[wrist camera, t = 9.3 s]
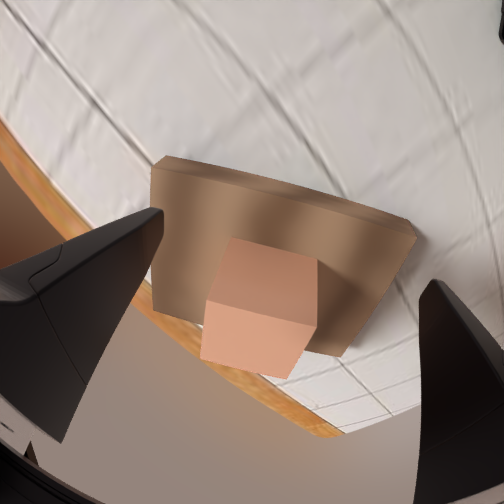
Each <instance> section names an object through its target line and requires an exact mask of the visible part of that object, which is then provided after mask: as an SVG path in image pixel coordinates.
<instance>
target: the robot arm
mask: <svg viewBox="0 0 504 504" xmlns="http://www.w3.org/2000/svg"><path fill="white" fill-rule="evenodd" d="M501 12H502V16H501V23H500V29H499V38H500V39H501V41H502V42H503V43H504V0H502V8H501ZM163 235H164V211H163V210H162V209H160V208H155V207H149V208H147V209H144V210H141V211H139V212H136V213H134V214H131V215H128V216H126V217H123V218H121V219H118V220H116V221H113V222H111V223H108V224H106V225H103V226H101V227H99V228H96V229H94V230H91V231H89V232H87V233H84V234H82V235H80V236H77V237H75V238H73V239H70V240H68V241H66V242H64V243H63V244H59V245H57V246H55V247H53V248H50V249H48V250H46V251H44V252H41V253H39V254H37V255H34V256H32V257H29V258H27V259H24V260H22V261H20V262H17V263H15V264H12V265H10V266H7V267H5V268H2V269H0V504H105V503H102V502H100V501H98V500H96V499H94V498H92V497H90V496H88V495H86V494H84V493H83V492H81V491H79V490H77V489H75V488H73V487H71V486H70V485H68V484H66V483H65V482H63V481H61V480H60V479H58V478H56V477H55V476H53V475H51V474H50V473H48V472H47V471H45V470H43V469H42V468H41V467H39V465H38V462H37V459H36V456H35V453H34V450H33V447H32V444H31V438H32V436H33V433H34V432H35V430H36V429H38V430H39V431H41V432H43V433H44V434H46V435H47V436H49V437H50V438H52V439H54V440H55V441H57V442H59V443H60V444H61V443H62V441H63V439H64V437H65V434H66V432H67V429H68V427H69V425H70V422H71V420H72V418H73V416H74V413H75V411H76V409H77V407H78V404H79V402H80V400H81V398H82V396H83V393H84V391H85V389H86V387H87V385H88V382H89V380H90V378H91V376H92V374H93V372H94V370H95V368H96V366H97V364H98V362H99V360H100V358H101V356H102V354H103V352H104V350H105V348H106V346H107V344H108V343H109V341H110V338H111V337H112V335H113V333H114V331H115V329H116V327H117V325H118V324H119V322H120V320H121V318H122V316H123V314H124V313H125V311H126V309H127V307H128V306H129V304H130V302H131V300H132V298H133V297H134V295H135V293H136V291H137V290H138V288H139V286H140V285H141V283H142V281H143V279H144V277H145V276H146V274H147V271H148V269H149V267H150V265H151V262H152V260H153V258H154V256H155V254H156V251H157V249H158V247H159V245H160V243H161V241H162V238H163ZM419 350H420V367H421V432H420V433H421V434H420V450H419V460H418V470H417V479H416V487H415V494H414V501H413V504H504V350H503V349H501V347H500V345H499V344H498V343H497V342H496V340H495V339H494V338H493V337H492V336H491V334H490V333H489V332H488V331H487V330H486V328H485V327H484V326H483V325H482V324H481V322H480V321H479V320H478V319H477V318H476V317H475V316H474V314H473V313H472V312H471V311H470V310H469V309H468V308H467V306H466V305H465V304H464V303H463V302H462V301H461V300H460V299H459V298H458V297H457V296H456V294H455V293H454V292H453V291H452V290H451V289H450V288H449V287H448V286H447V285H446V284H445V283H444V282H443V281H441V280H437V279H432V280H431V281H430V282H429V284H428V285H427V287H426V288H425V290H424V291H423V293H422V294H421V296H420V299H419Z"/></svg>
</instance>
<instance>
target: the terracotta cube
mask: <svg viewBox="0 0 504 504" xmlns="http://www.w3.org/2000/svg"><path fill="white" fill-rule="evenodd" d="M316 328H317V259H315V258H311V257H308V256H304V255H300V254H296V253H292V252H288V251H284V250H280V249H277V248H273V247H269V246H265V245H261V244H257V243H253V242H249V241H245V240H241V239H237V238H233V237H231V239H230V241H229V244H228V246H227V249H226V251H225V254H224V256H223V259H222V261H221V264H220V266H219V269H218V271H217V274H216V277H215V279H214V282H213V284H212V287H211V289H210V292H209V295H208V297H207V300H206V307H205V316H204V325H203V334H202V343H201V352H200V359H203V360H207V361H210V362H214V363H218V364H222V365H225V366H229V367H233V368H237V369H241V370H245V371H250V372H254V373H258V374H263V375H267V376H272V377H277V378H281V379H287V378H288V376H289V374H290V373H291V371H292V369H293V368H294V366H295V364H296V363H297V361H298V359H299V358H300V356H301V354H302V353H303V351H304V349H305V347H306V346H307V344H308V342H309V340H310V339H311V337H312V335H313V333H314V332H315V330H316Z"/></svg>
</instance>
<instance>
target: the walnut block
mask: <svg viewBox="0 0 504 504" xmlns="http://www.w3.org/2000/svg"><path fill="white" fill-rule="evenodd" d="M150 207H155V208H160V209H162V210H163V211H164V235H163V238H162V241H161V243H160V245H159V247H158V249H157V251H156V254H155V256H154V258H153V260H152V262H151V281H152V299H153V310H154V311H157V312H160V313H163V314H167V315H170V316H173V317H176V318H180V319H183V320H186V321H190V322H193V323H196V324H200V325H204V316H205V307H206V300H207V297H208V295H209V292H210V289H211V287H212V284H213V282H214V279H215V277H216V274H217V271H218V269H219V266H220V264H221V261H222V259H223V256H224V254H225V251H226V249H227V246H228V244H229V241H230V239H231V237H233V238H237V239H241V240H245V241H249V242H253V243H257V244H261V245H265V246H269V247H273V248H277V249H280V250H284V251H288V252H292V253H296V254H300V255H304V256H308V257H311V258H315V259H317V328H316V330H315V332H314V333H313V335H312V337H311V339H310V340H309V342H308V344H307V346H306V347H305V349H304V350H305V351H310V352H315V353H320V354H325V355H330V356H335V357H341V356H342V355H343V353H344V352H345V351H346V349H347V348H348V347H349V345H350V344H351V342H352V341H353V340H354V338H355V337H356V335H357V334H358V333H359V331H360V330H361V328H362V327H363V325H364V324H365V323H366V321H367V320H368V318H369V317H370V315H371V314H372V312H373V311H374V309H375V308H376V306H377V305H378V303H379V302H380V300H381V298H382V297H383V295H384V294H385V292H386V291H387V289H388V287H389V286H390V284H391V282H392V281H393V279H394V278H395V276H396V274H397V273H398V271H399V269H400V267H401V266H402V264H403V262H404V261H405V259H406V257H407V255H408V254H409V252H410V250H411V248H412V246H413V245H414V243H415V241H416V239H417V236H416V234H415V232H414V230H413V228H412V226H411V224H410V222H409V221H408V220H407V219H404V218H401V217H398V216H395V215H393V214H390V213H387V212H384V211H381V210H378V209H375V208H372V207H368V206H365V205H362V204H359V203H356V202H353V201H349V200H346V199H343V198H340V197H336V196H333V195H330V194H326V193H323V192H319V191H316V190H312V189H309V188H305V187H301V186H298V185H294V184H290V183H287V182H283V181H279V180H275V179H271V178H267V177H263V176H259V175H255V174H251V173H247V172H242V171H238V170H234V169H229V168H225V167H221V166H216V165H211V164H207V163H202V162H197V161H192V160H187V159H182V158H177V157H171V156H165V157H163V158H162V159H161V160H160V161H158V162H157V163H156V164H155V165H153V166H152V167H151V187H150Z"/></svg>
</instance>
